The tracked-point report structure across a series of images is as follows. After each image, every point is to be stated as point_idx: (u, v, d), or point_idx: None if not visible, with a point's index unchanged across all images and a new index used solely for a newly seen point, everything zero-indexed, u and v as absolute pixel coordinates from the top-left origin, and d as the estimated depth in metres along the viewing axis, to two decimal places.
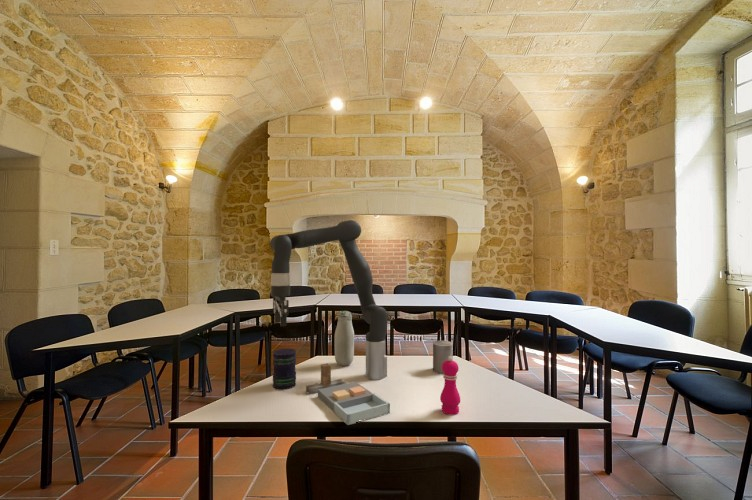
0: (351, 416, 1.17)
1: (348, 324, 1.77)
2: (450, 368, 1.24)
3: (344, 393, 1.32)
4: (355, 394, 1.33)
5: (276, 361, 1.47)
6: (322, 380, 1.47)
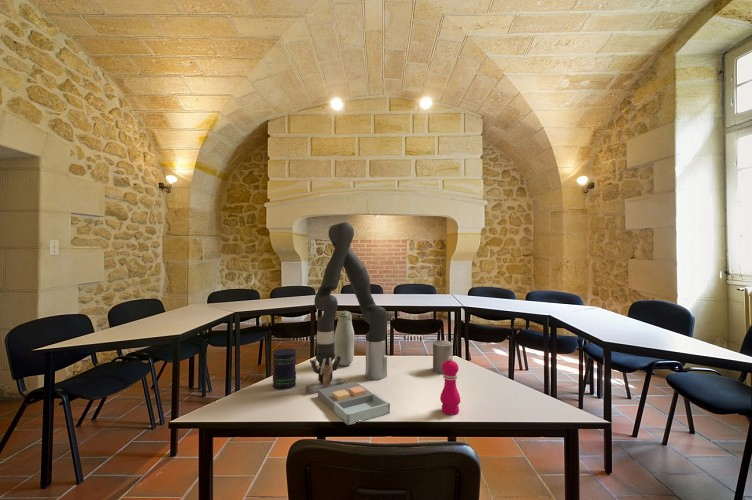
0: (351, 416, 1.17)
1: (348, 324, 1.77)
2: (450, 368, 1.24)
3: (344, 393, 1.32)
4: (355, 394, 1.33)
5: (276, 361, 1.47)
6: None
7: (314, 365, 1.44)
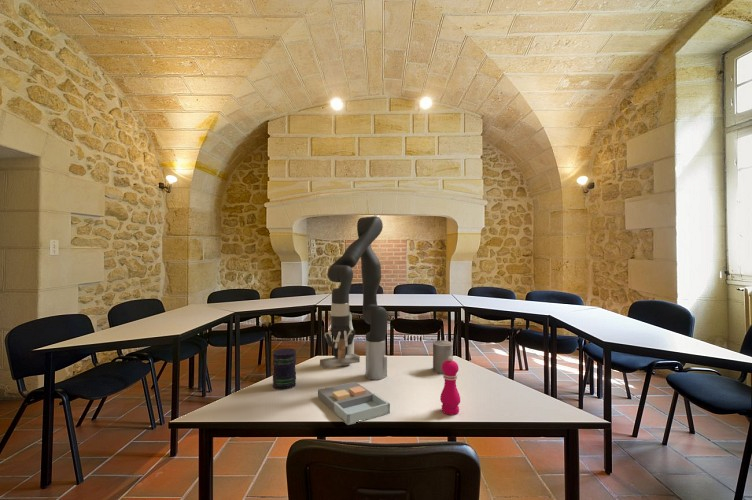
0: (351, 416, 1.17)
1: None
2: (450, 368, 1.24)
3: (344, 393, 1.32)
4: (355, 394, 1.33)
5: (276, 361, 1.47)
6: None
7: (329, 338, 1.38)
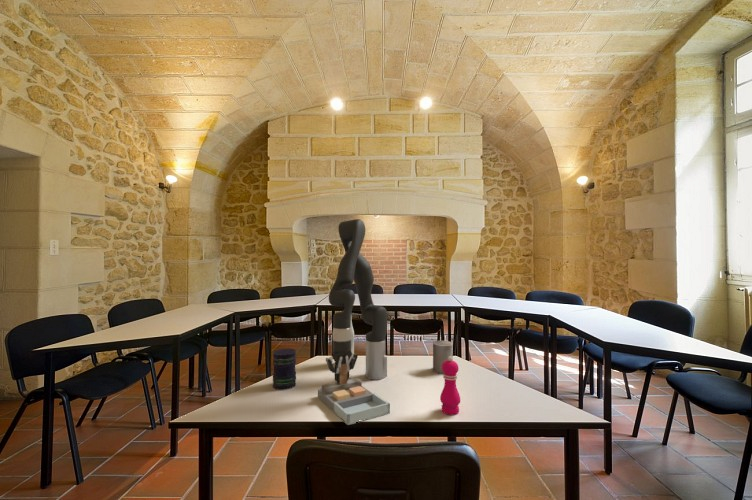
0: (351, 416, 1.17)
1: None
2: (450, 368, 1.24)
3: (344, 393, 1.32)
4: (355, 394, 1.33)
5: (276, 361, 1.47)
6: None
7: (330, 364, 1.36)
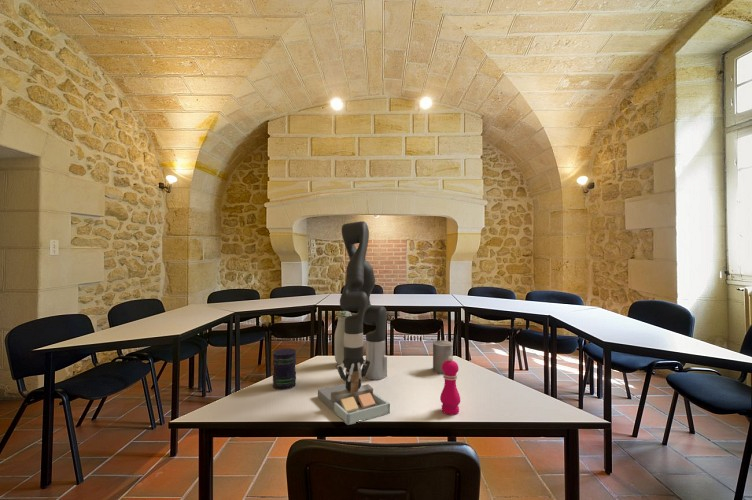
0: (351, 416, 1.17)
1: None
2: (450, 368, 1.24)
3: (352, 405, 1.26)
4: (364, 407, 1.27)
5: (276, 361, 1.47)
6: None
7: (341, 371, 1.27)
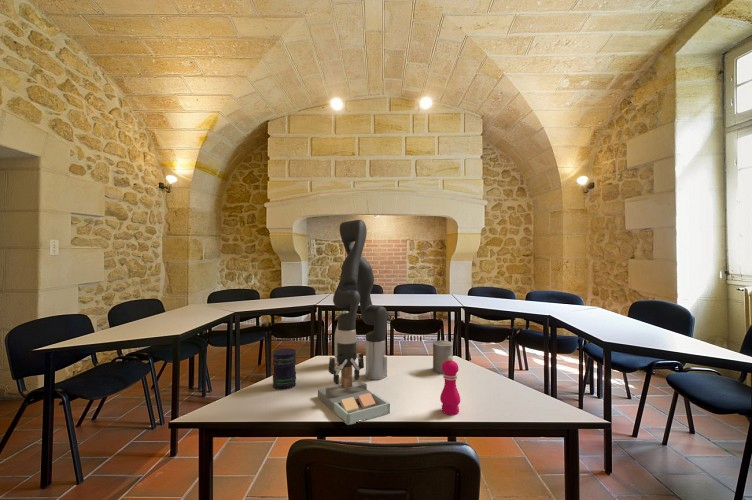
0: (351, 416, 1.17)
1: None
2: (450, 368, 1.24)
3: (353, 405, 1.26)
4: (364, 407, 1.27)
5: (276, 361, 1.47)
6: (343, 382, 1.35)
7: (333, 364, 1.32)
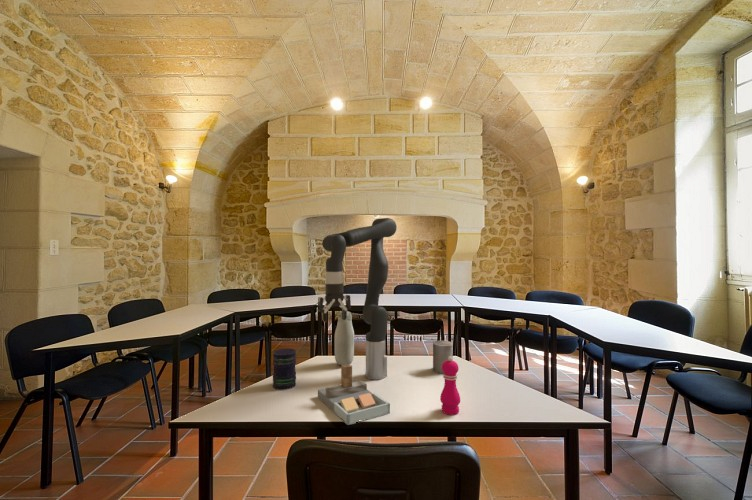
0: (351, 416, 1.17)
1: (348, 324, 1.77)
2: (450, 368, 1.24)
3: (353, 405, 1.26)
4: (364, 407, 1.27)
5: (276, 361, 1.47)
6: (343, 382, 1.35)
7: (321, 302, 1.41)
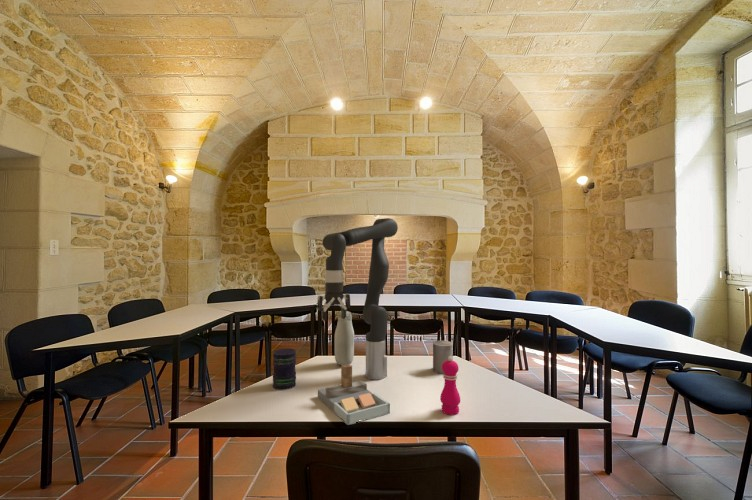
0: (351, 416, 1.17)
1: (348, 324, 1.77)
2: (450, 368, 1.24)
3: (353, 405, 1.26)
4: (364, 407, 1.27)
5: (276, 361, 1.47)
6: (343, 382, 1.35)
7: (321, 301, 1.41)
